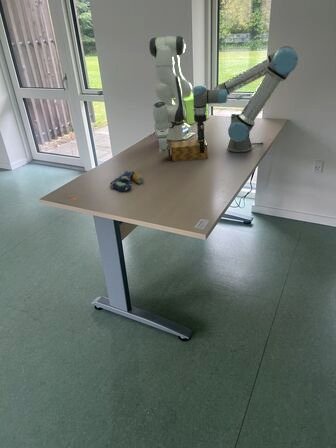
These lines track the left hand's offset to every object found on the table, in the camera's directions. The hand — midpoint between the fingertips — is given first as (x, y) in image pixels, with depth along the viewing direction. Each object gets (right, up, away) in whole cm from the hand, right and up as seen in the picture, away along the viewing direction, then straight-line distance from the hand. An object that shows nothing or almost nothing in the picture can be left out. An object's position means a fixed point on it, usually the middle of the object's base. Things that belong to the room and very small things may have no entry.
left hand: (164, 152), depth 210 cm
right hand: (+23, +2, 0) cm, 24 cm away
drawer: (+10, -2, +2) cm, 11 cm away
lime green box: (+21, +45, +79) cm, 93 cm away
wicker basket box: (+16, -2, +2) cm, 16 cm away
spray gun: (-19, -23, -27) cm, 41 cm away
